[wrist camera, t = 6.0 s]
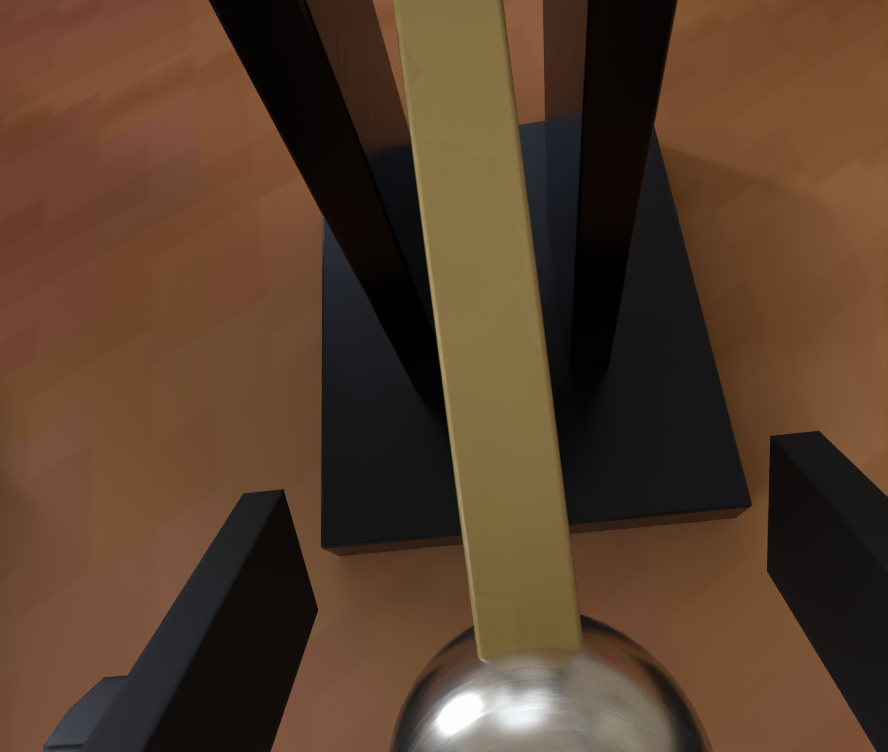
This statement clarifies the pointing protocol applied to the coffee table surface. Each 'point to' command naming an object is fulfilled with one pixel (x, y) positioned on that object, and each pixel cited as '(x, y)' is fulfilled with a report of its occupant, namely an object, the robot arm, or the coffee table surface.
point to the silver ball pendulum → (506, 436)
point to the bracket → (558, 270)
